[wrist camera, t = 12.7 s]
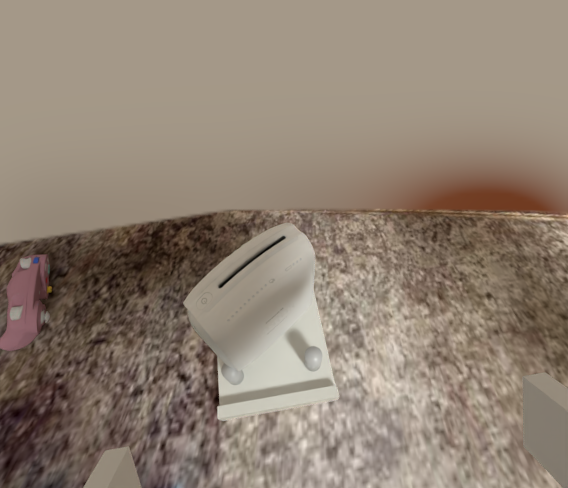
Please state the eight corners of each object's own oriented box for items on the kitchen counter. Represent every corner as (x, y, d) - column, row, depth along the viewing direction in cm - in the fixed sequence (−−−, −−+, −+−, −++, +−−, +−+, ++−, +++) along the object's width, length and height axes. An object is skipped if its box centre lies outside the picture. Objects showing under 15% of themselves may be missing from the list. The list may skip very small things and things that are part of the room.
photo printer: (237, 381, 29) (200, 339, 18) (208, 345, 30) (161, 289, 20) (319, 305, 32) (327, 234, 22) (289, 277, 34) (284, 199, 24)
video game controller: (51, 350, 37) (44, 323, 32) (-1, 356, 35) (-18, 328, 30) (60, 275, 42) (54, 242, 37) (15, 276, 40) (3, 242, 35)
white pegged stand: (337, 400, 31) (341, 393, 28) (222, 421, 31) (212, 416, 27) (308, 272, 39) (309, 254, 35) (216, 287, 38) (207, 270, 35)
